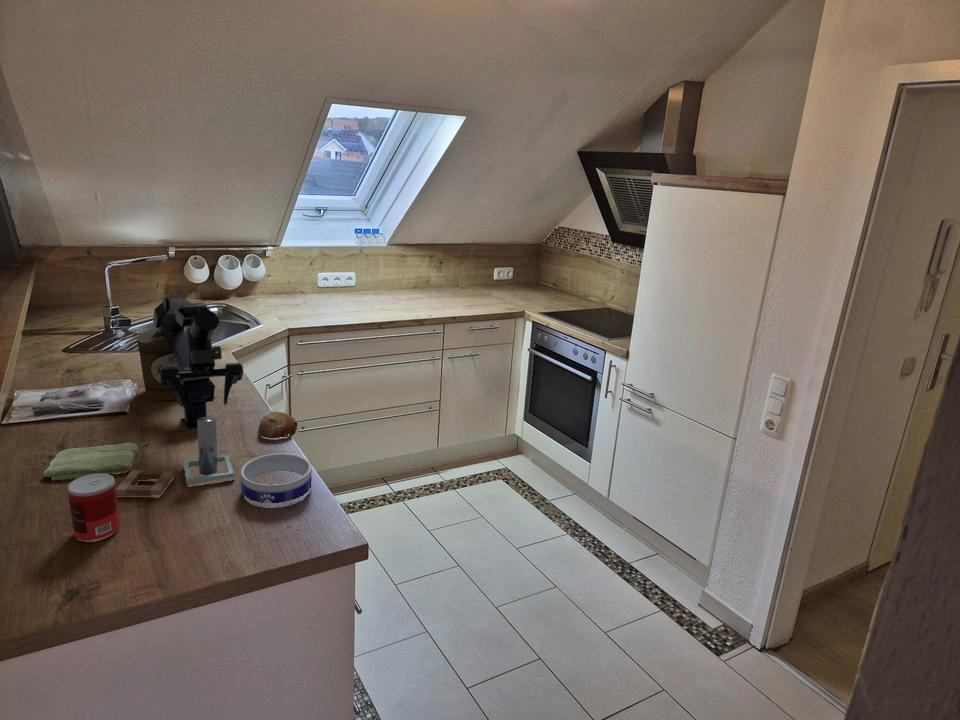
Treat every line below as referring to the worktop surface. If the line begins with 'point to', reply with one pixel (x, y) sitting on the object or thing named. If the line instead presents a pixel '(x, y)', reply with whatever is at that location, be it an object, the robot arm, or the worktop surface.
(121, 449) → the washcloth
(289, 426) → the bread roll
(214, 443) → the steel pin
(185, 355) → the robot arm
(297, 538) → the worktop surface
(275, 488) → the dog bowl
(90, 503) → the canned food
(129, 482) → the walnut collar
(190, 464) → the cradle tray
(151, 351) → the wooden container
